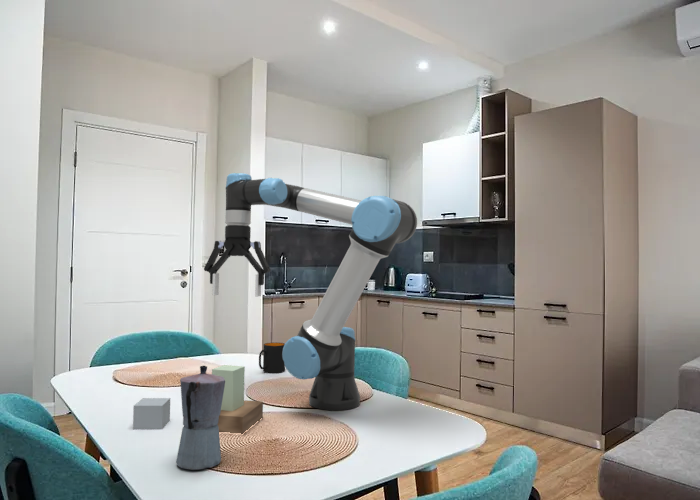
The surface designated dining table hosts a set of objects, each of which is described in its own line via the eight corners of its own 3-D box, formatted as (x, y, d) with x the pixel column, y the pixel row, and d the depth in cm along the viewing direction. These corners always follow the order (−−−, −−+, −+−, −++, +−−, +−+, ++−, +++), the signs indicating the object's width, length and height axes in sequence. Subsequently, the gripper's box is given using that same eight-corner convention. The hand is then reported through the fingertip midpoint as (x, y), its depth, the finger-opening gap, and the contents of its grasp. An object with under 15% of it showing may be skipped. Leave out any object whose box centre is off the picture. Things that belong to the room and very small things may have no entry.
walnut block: (262, 420, 137) (262, 401, 137) (242, 437, 123) (242, 417, 123) (213, 416, 140) (214, 398, 140) (188, 433, 126) (189, 413, 126)
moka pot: (230, 450, 114) (232, 360, 114) (214, 480, 98) (216, 375, 99) (186, 450, 113) (188, 359, 114) (163, 480, 98) (166, 375, 98)
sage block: (243, 405, 134) (244, 366, 134) (232, 411, 128) (233, 370, 128) (223, 403, 135) (224, 364, 136) (211, 409, 130) (212, 369, 130)
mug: (251, 373, 192) (251, 345, 193) (274, 368, 202) (274, 341, 202) (266, 376, 187) (267, 347, 188) (289, 371, 197) (289, 344, 197)
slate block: (169, 421, 134) (170, 398, 134) (161, 429, 127) (162, 405, 127) (142, 421, 134) (143, 398, 134) (132, 430, 127) (133, 405, 127)
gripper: (281, 226, 156) (280, 296, 156) (205, 226, 161) (203, 293, 160) (273, 224, 149) (271, 297, 148) (193, 224, 153) (192, 295, 153)
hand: (236, 295), depth 154 cm, fingers open, 13 cm apart
